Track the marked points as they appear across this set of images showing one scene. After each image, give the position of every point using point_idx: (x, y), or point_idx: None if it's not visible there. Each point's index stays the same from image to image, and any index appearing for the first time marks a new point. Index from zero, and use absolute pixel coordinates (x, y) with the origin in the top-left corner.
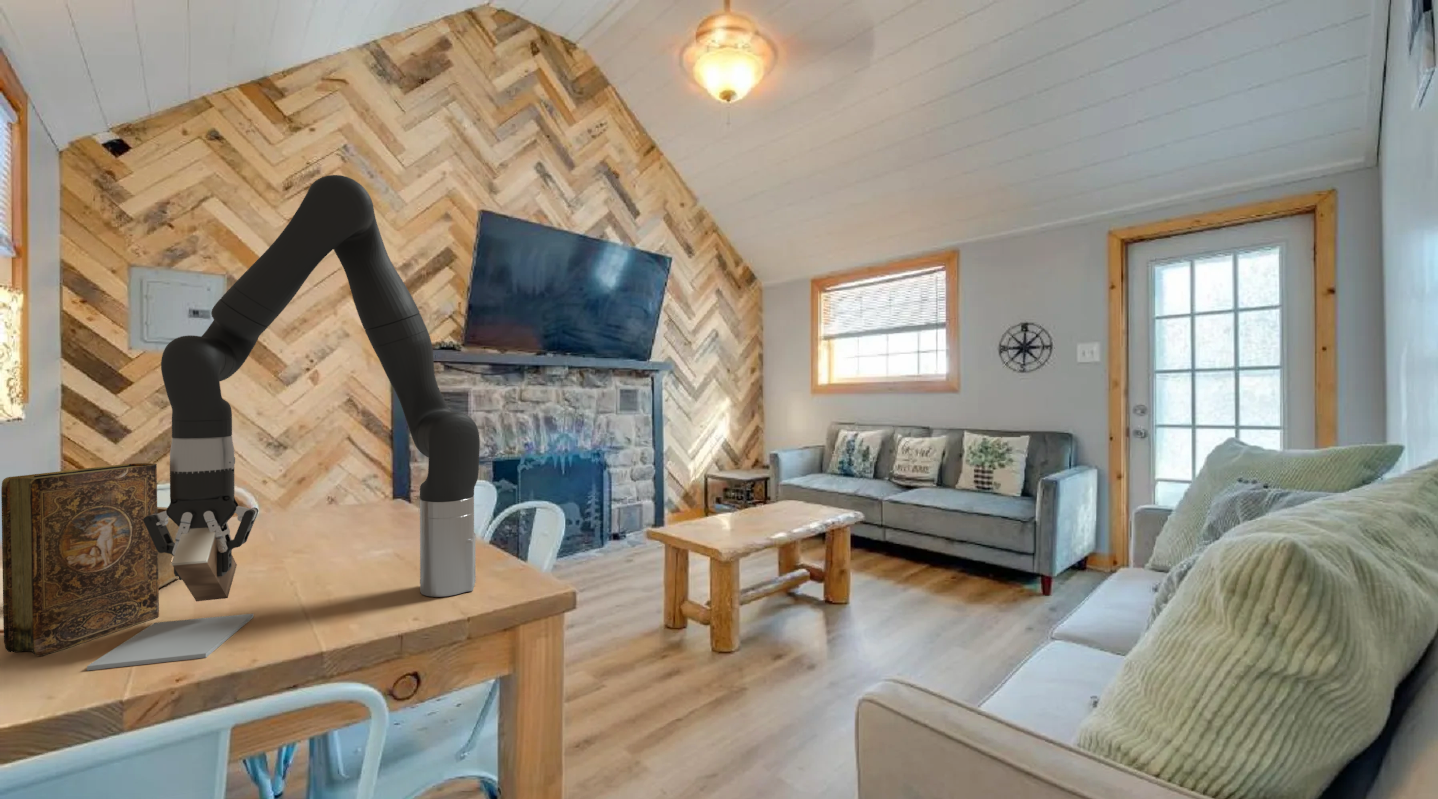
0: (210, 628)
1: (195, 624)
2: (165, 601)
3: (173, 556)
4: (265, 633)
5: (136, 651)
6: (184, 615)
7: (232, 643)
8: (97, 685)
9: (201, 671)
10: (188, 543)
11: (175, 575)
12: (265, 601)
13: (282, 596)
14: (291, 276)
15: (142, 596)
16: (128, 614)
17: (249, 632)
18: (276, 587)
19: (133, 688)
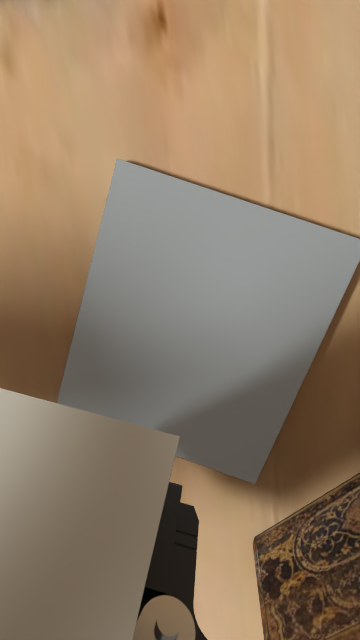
0: (131, 357)
1: (168, 412)
2: (250, 637)
3: (194, 615)
4: (15, 265)
5: (272, 284)
6: (202, 516)
7: (77, 236)
8: (332, 107)
9: (117, 53)
10: (52, 630)
11: (193, 509)
12: None
13: None
14: None
15: (295, 589)
16: (314, 534)
17: (51, 298)
18: None
19: (252, 21)
